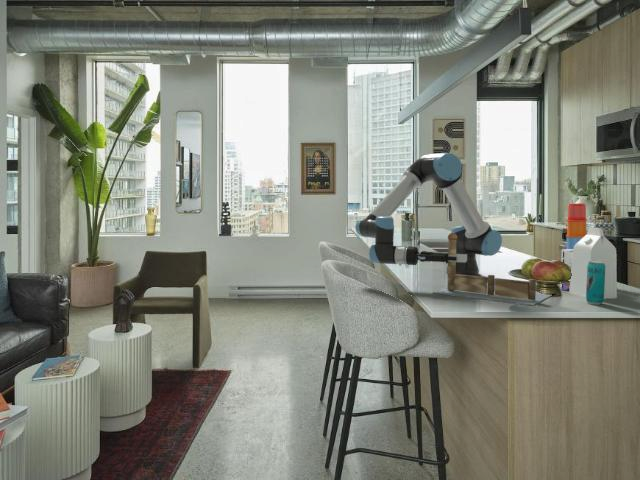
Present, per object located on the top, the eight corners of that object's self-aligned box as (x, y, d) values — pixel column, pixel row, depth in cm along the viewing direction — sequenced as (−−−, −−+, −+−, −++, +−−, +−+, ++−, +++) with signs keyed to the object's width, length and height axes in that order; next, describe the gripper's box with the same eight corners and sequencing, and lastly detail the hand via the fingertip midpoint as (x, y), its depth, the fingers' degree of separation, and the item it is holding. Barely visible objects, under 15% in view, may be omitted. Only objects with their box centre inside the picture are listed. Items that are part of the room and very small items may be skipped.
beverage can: (582, 302, 198) (584, 260, 197) (597, 301, 199) (599, 260, 197) (591, 305, 192) (593, 262, 191) (607, 305, 193) (609, 262, 192)
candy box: (596, 289, 223) (598, 249, 222) (599, 292, 218) (600, 251, 216) (559, 287, 228) (561, 248, 226) (561, 290, 222) (562, 249, 221)
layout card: (462, 283, 236) (462, 282, 236) (555, 294, 213) (555, 292, 213) (432, 293, 214) (432, 291, 214) (532, 305, 191) (532, 304, 191)
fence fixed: (488, 293, 210) (489, 274, 209) (536, 298, 199) (537, 279, 199) (486, 294, 208) (487, 275, 207) (534, 299, 197) (534, 280, 197)
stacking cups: (591, 285, 233) (595, 203, 230) (565, 284, 235) (568, 203, 232) (586, 281, 243) (590, 203, 240) (561, 280, 245) (564, 203, 242)
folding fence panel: (487, 292, 211) (489, 234, 209) (484, 294, 208) (486, 235, 206) (448, 288, 221) (450, 232, 219) (445, 289, 218) (446, 233, 216)
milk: (616, 298, 205) (620, 228, 203) (588, 299, 204) (592, 229, 201) (595, 292, 217) (598, 226, 215) (569, 293, 215) (571, 227, 213)
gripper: (411, 262, 232) (468, 265, 222) (402, 267, 217) (463, 270, 208) (412, 244, 231) (469, 247, 222) (402, 248, 216) (463, 250, 207)
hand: (466, 258), depth 215 cm, fingers closed on folding fence panel, 3 cm apart
